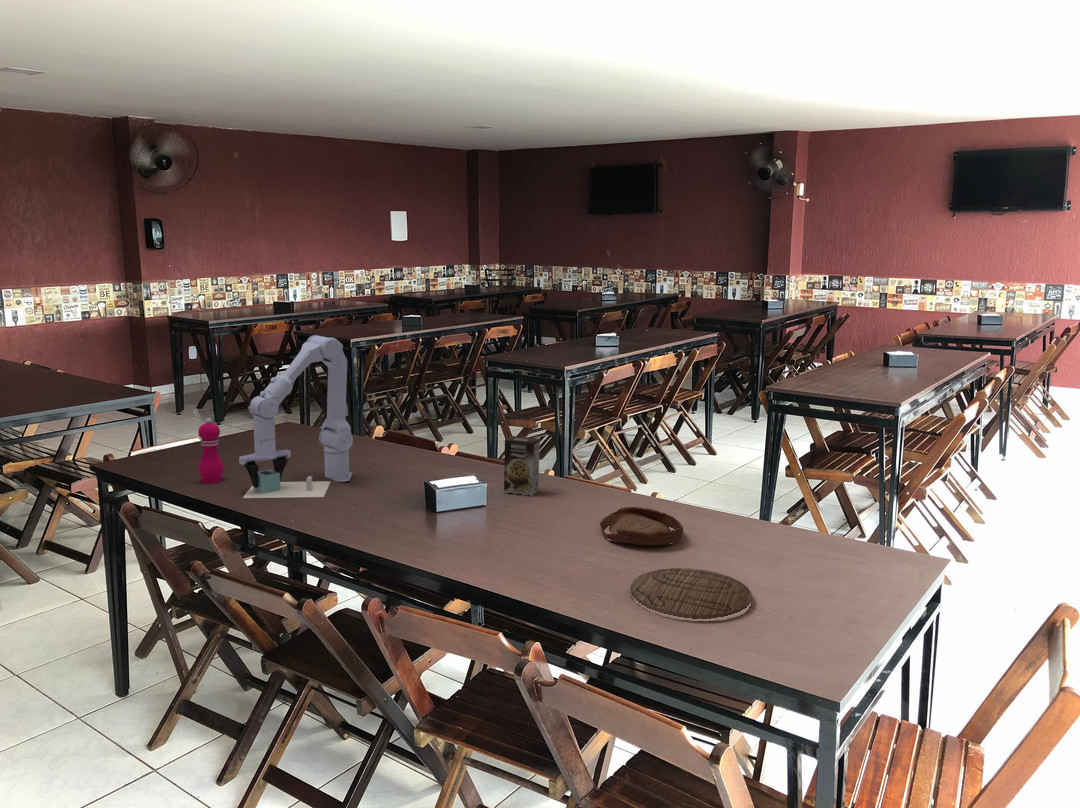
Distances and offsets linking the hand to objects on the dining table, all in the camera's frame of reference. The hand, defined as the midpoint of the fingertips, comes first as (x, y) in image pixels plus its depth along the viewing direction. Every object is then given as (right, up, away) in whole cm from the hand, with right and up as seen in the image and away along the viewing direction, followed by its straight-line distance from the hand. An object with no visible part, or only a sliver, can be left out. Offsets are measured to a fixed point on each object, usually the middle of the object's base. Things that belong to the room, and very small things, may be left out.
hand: (266, 484), depth 254 cm
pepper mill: (-19, -1, +9) cm, 21 cm away
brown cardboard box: (+73, -3, +6) cm, 73 cm away
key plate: (+6, -3, +1) cm, 7 cm away
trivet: (+110, -18, -68) cm, 130 cm away
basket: (+104, -11, -30) cm, 109 cm away
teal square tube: (0, -1, 0) cm, 1 cm away
